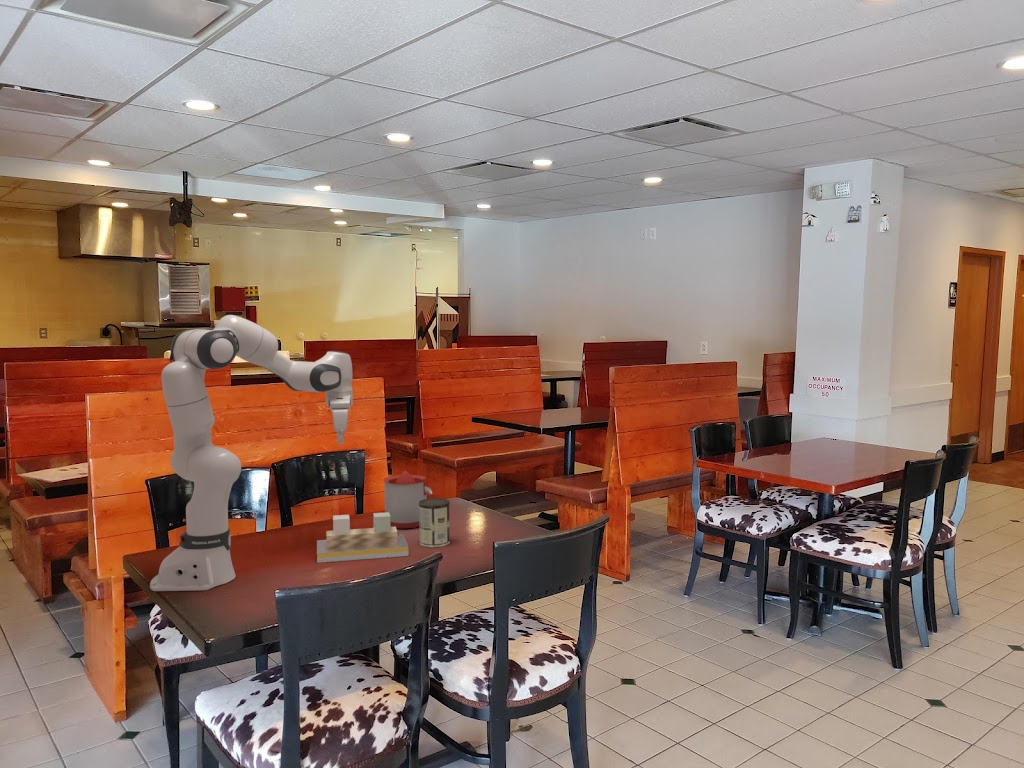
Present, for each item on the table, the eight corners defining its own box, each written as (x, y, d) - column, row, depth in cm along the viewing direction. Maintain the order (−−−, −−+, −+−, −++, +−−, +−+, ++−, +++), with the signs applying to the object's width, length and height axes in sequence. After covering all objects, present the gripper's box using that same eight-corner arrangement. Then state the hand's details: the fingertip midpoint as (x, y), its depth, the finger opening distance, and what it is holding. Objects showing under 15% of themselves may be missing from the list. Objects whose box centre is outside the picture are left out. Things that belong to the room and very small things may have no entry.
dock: (317, 563, 234) (316, 553, 234) (317, 549, 248) (317, 540, 248) (408, 556, 241) (408, 546, 241) (403, 543, 255) (403, 534, 255)
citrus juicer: (429, 531, 269) (428, 475, 267) (380, 530, 270) (379, 475, 268) (435, 519, 285) (434, 466, 283) (388, 519, 285) (387, 466, 283)
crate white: (333, 535, 240) (333, 519, 239) (333, 530, 244) (333, 515, 244) (349, 534, 241) (349, 518, 240) (349, 529, 246) (349, 514, 245)
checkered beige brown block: (326, 548, 239) (326, 536, 238) (326, 543, 245) (326, 531, 244) (397, 543, 244) (397, 531, 244) (395, 538, 250) (395, 526, 250)
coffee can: (431, 536, 262) (430, 496, 261) (455, 541, 257) (455, 500, 256) (412, 544, 254) (412, 502, 252) (437, 549, 248) (437, 506, 247)
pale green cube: (374, 532, 243) (374, 517, 242) (373, 528, 247) (373, 513, 247) (390, 531, 244) (390, 516, 243) (389, 527, 249) (388, 512, 248)
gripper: (329, 397, 261) (329, 437, 262) (329, 403, 241) (330, 447, 242) (347, 396, 262) (348, 436, 264) (350, 403, 243) (351, 446, 244)
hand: (340, 441), depth 253 cm, fingers open, 8 cm apart
